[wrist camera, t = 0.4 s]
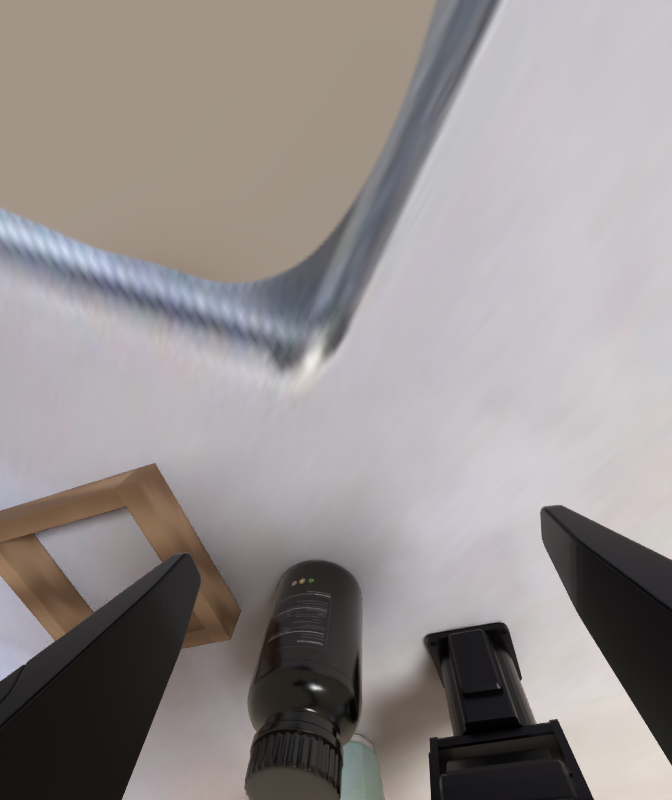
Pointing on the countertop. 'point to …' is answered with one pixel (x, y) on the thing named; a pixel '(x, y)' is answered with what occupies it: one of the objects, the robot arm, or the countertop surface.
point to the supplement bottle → (306, 685)
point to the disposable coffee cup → (360, 771)
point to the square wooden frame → (161, 524)
